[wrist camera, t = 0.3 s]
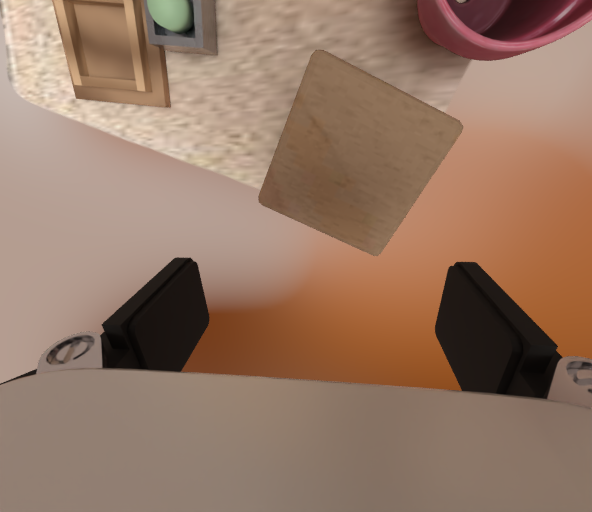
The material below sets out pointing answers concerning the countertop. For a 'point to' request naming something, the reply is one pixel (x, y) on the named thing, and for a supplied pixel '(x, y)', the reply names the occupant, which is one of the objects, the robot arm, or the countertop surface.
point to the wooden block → (354, 154)
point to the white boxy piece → (195, 39)
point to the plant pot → (500, 24)
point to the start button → (172, 14)
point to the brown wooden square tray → (112, 52)
